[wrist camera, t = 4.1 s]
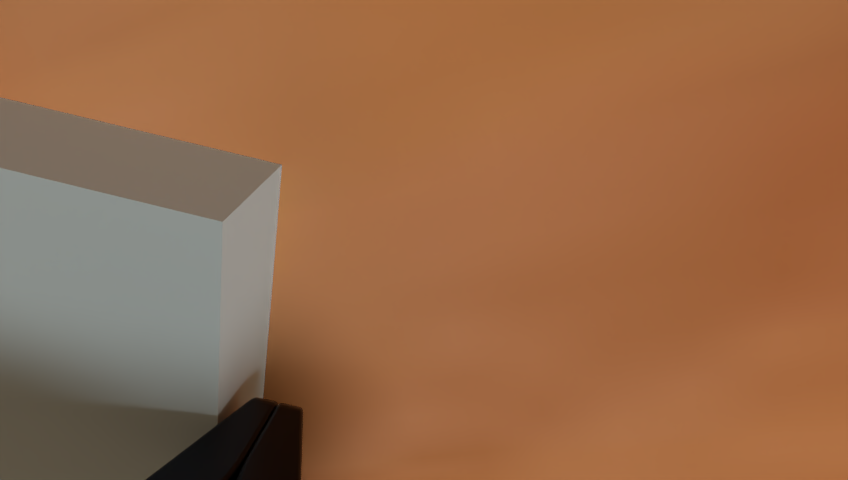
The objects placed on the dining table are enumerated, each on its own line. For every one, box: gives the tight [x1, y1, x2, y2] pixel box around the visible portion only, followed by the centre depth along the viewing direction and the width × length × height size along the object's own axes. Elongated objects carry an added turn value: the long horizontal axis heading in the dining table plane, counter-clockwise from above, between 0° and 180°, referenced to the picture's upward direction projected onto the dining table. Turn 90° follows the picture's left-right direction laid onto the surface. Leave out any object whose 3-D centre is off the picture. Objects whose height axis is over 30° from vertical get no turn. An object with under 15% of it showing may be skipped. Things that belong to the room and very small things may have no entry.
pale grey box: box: [0, 97, 282, 480], centre depth 9 cm, size 8×6×2 cm
